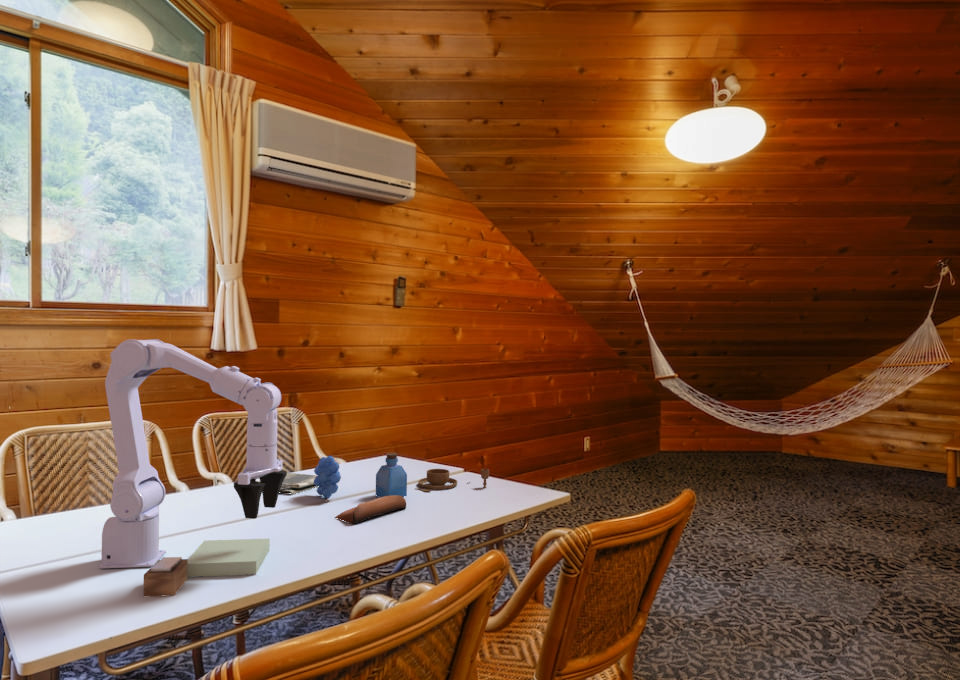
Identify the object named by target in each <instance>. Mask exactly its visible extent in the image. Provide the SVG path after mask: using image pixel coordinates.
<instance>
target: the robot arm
mask: <svg viewBox="0 0 960 680" xmlns="http://www.w3.org/2000/svg"><path fill="white" fill-rule="evenodd" d="M109 355H110V361H111V362H110V365H109V368H108V371H107V374H106V377H105V380H104V385H105V387H104V388H105V393H106V399H107V400H106V401H107V406H108V412H109V419H110V424H111V430H112V435H113V443H114V449H115V453H116V461H117V467H118V468H117V469H118V473H117V475H116V477H115V478H114V479H113V481H112V485H111V486H112V496H111V499H110V505H109V507H110V510H111V512H112V515H114V516H112V517H108V518H107V519H106V521H105V522H104V524H103V527H102V531H101V532H102V533H101V564H100V565H99V568H100V569H119V568H121V569H122V568H145V567H146V568H151V567H152V566H153V565H154V564H155V563H156V562H157V561H158V560H161V559H162V558H163V556H164V555H166V553H167V550H165V549H164V550H163V549H162V550H160V549H159V546H160V545H159V542H160V541H159V540H160V539H159V538H160V530H159V529H160V505H161V504H162V503H163V502H164V500H165V497H166V488H165V485H164V484H163V482H162V481H161V479H160V477H159V473H158V470H157V469H156V468H155V467H154V466H153V465H151V463H150V458H149V456H150V455H149V451H148V445H147V444H148V443H147V440H146V439H147V438H146V433H145V426H144V420H143V419H144V418H143V413H142V407H141V402H140V401H141V400H140V395H139V387H140V386H141V385H142V383H143V382H145V380H146V379H147V378H148V377H149V376H150V375H152V374H154V373H156V372H157V371H159V370H161V369H162V368H163V369H165V368H172V369H175V370H177V371H179V372H182V373H184V374H185V375H189V376H192V377H194V378H196V379H198V380H201V381H204V382H206V383H208V384H209V386H210V389H211V391H212V393H215V394H217V395H219V396H221V397H223V398H226V399H227V400H230V401H232V402H234V403H236V404H238V405H240V406H243V408H244V409H245V411H246V412H247V421H246V423H247V424H246V425H247V426H246V464H245V465H246V466H245V467H244V468H243V470H242V471H241V472H240V473H238V474H237V480H236V481H234V482H233V489H234V490H235V492H236V493H237V495H238V497H239V499H240V502H241V506H242V510H243V514H244V517H245V519H250V520H251V519H253V520H255V519H257V517H258V515H259V510H260V509H259V508H260V500H261V496H262V502H263V506H264V508H272V509H273V508H275V507H276V505H277V502H278V497H279V495H280V494H279V491H280V488H281V485H282V483H283V481H284V479H285V477H286V475H287V473H288V472H287V470H283V468H284V467H283V465H284V464H283V463H284V462H283V459H282V458H281V459H279V458H278V423H279V422H278V407H279V406H280V404H281V402H282V393H281V390H280V388H278V387H277V386H276V385H274V383H273V382H262V383H261V381H262V379H261V378H259V377H251V376H249V375H248V374H245V373H243V372H241V371H240V367H238V366H236V365H232V366H228V365H226V366H222V367H219V368H218V367H216V366H214V365H212V364H210V363H209V362H206V361H204V360H202V359H201V358H198V357H197V356H195V355H194V354H191V353H189V352H187V351H185V350H183V349H181V348H179V347H177V346H176V345H174V344H171V343H168V342H164V341H162V340H160V339H157V338H153V339H151V338H150V339H133V338H132V339H126V340H124V341H122V342H120V343H119V344H118V345H117V346H116V347H115V348H114V349H113V350H112V351H111V352H110V354H109ZM257 479H259V481H260V482H261V483H257V481H258V480H257Z"/></svg>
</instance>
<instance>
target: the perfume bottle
mask: <svg viewBox="0 0 960 680" xmlns="http://www.w3.org/2000/svg"><path fill="white" fill-rule="evenodd" d="M385 456H386V457H385V463H386V464H383V465H381V466H380V468H379V469H378V471H377V472H376V474H375V496H376V495H377V496H380V497H385V496H392V495H398V496H402V497H403V498H405V497H404V496H406V497H407V496H408V495H407V491H408V474H407V472H406V471H405V469H404V468H403V465H400V464H398V462H399V458H398V453H396V452H389V453H388V452H387V453H386V454H385ZM377 496H376V497H377ZM380 497H379V498H380Z"/></svg>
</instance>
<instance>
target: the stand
mask: <svg viewBox="0 0 960 680" xmlns="http://www.w3.org/2000/svg"><path fill="white" fill-rule="evenodd" d="M270 540H271V539H270V538H246V539H245V538H244V539H243V538H242V539H214V540H203V541H202V542H201V544H200V545H199V546H198V548H197V549H195V551H194V552H192V554H191V555H190V556H189V557H188V558H187V559H188V567H187V578H191V577H190V576H203V577H220V576H221V577H224V576H225V577H226V576H227V577H228V576H246V574H253V575H257V574H256V573H258V571H259V570H260V569H261V567H260V566H262V564H264V562H265V559H266V558H267V556H268V554H269V553H270ZM266 555H267V556H266ZM265 557H266V558H265Z"/></svg>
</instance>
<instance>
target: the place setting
mask: <svg viewBox="0 0 960 680" xmlns="http://www.w3.org/2000/svg"><path fill="white" fill-rule="evenodd" d="M480 476H481V479H482V480H483V483H482V485H483V487H482V489H487V488H488V487H487V485H488V484H487V479H489V477H490V469H488V468H482V469H480ZM417 483H418V486H419V487H420V488H415V489H414V490H418V491H422V492H423V491H424V492H425V493H430V492H432V491H443V490H442V489H446V490H451V489H454V488H455V487H457V484H458V480H457V479H456V478H453V477H450V470H449V469H445V468H431V469H428V470H426V477H423V478H419V480H418V481H417ZM427 483H429V484H430V485H428V484H427ZM447 483H449V484H448V485H446V484H447ZM452 483H453V484H452ZM470 483H471V481H469V483H468V484H470ZM453 487H454V488H453ZM424 488H425V489H424ZM450 488H451V489H450ZM430 489H432V490H430Z"/></svg>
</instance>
